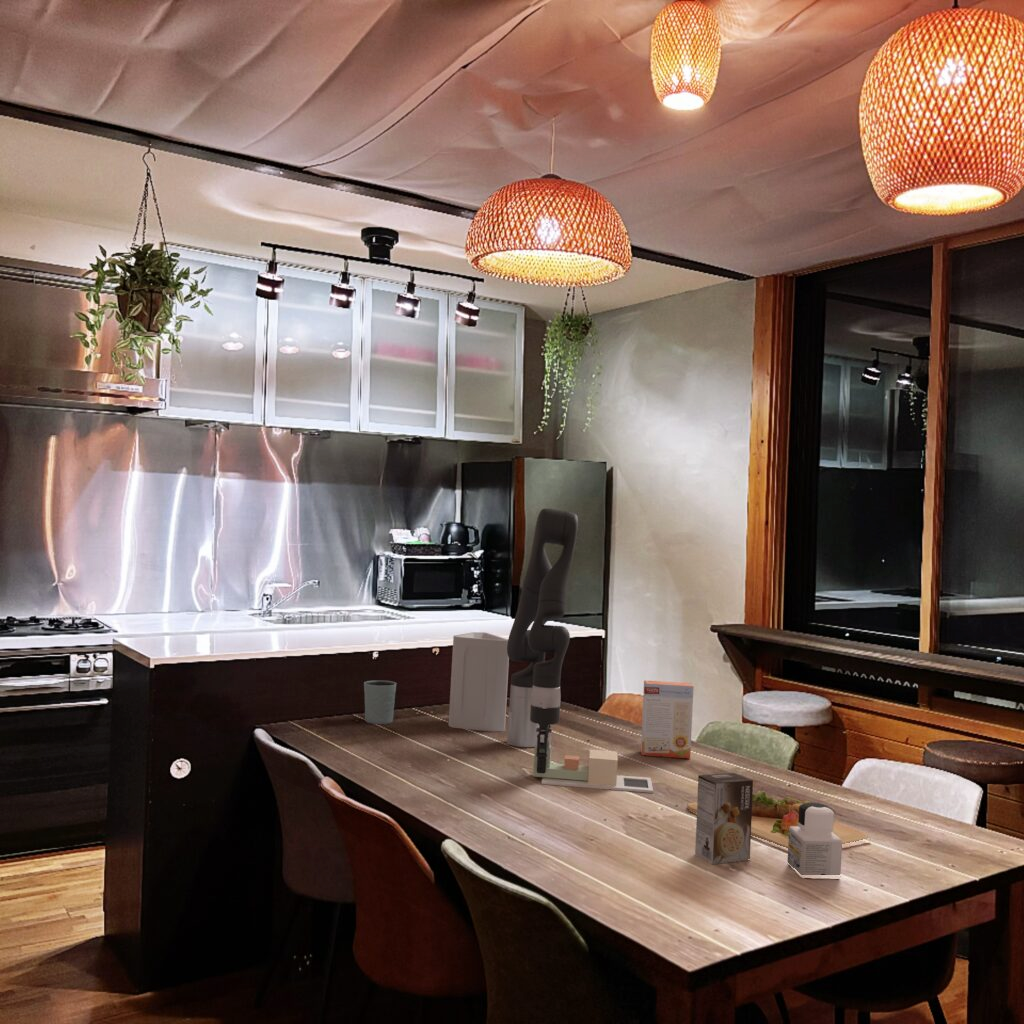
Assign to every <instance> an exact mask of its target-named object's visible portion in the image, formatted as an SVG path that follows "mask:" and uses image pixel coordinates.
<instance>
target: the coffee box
mask: <svg viewBox="0 0 1024 1024" xmlns="http://www.w3.org/2000/svg"><path fill="white" fill-rule="evenodd" d="M697 776H698V778H697V780H698V781H697V782H698V783H697V801H696V802H697V814H696V822H695V823H696V825H695V827H696V830H695V845H694V846H695V847H694V849H695V850H694V855H695V856H697V855H698V856H697V857H700V858H701V859H702V860H705V861H706V862H708V863H709V862H710V863H709V864H711V865H720V863H722V864H727V863H728V862H730V863H735V862H734V861H738V862H742V861H741V860H747V861H749V860H748V859H750V860H751V841H752V840H751V839H752V837H751V820H752V795H753V794H754V793H753V792H754V790H753V788H754V780H752V779H750V778H748V777H746V776H743V775H740V774H739V773H735V772H729V773H713V774H712V773H711V774H698V775H697Z"/></svg>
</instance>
